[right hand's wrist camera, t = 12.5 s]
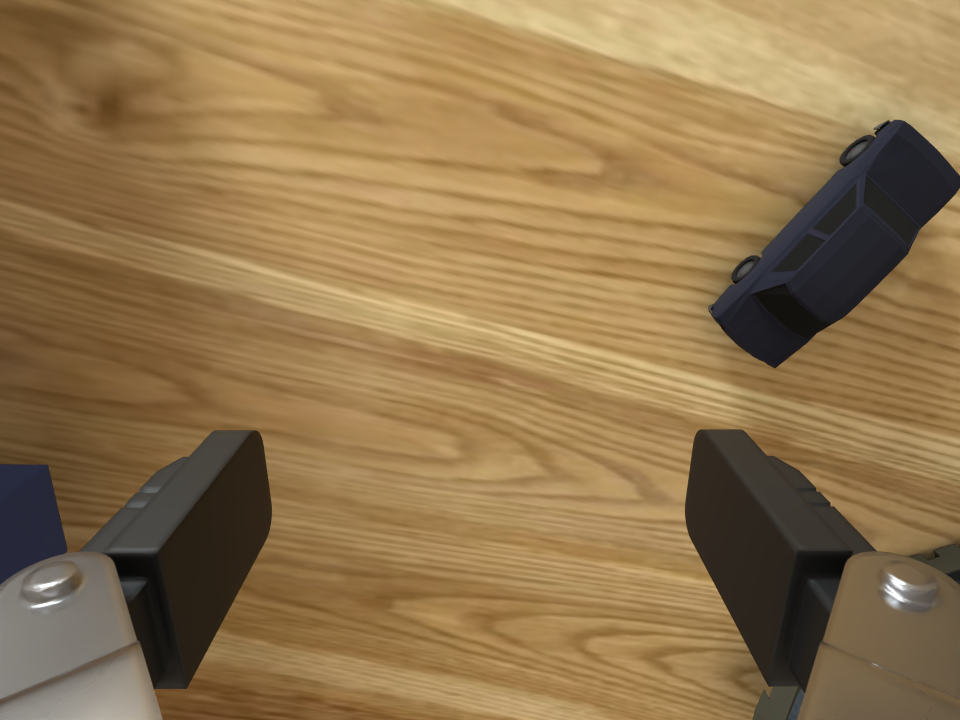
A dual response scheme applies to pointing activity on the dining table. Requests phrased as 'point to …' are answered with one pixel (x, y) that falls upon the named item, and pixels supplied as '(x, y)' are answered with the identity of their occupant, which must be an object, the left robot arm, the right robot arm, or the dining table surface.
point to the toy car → (837, 243)
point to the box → (27, 518)
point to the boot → (784, 703)
